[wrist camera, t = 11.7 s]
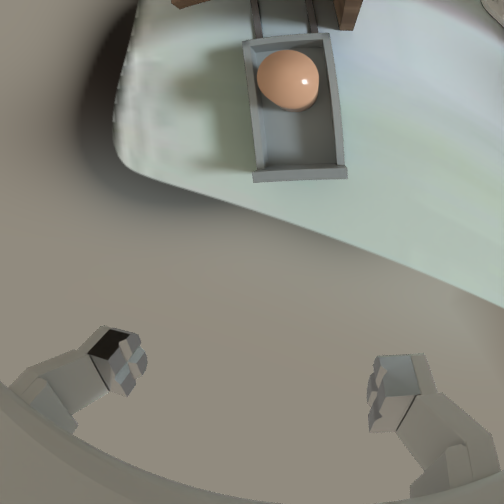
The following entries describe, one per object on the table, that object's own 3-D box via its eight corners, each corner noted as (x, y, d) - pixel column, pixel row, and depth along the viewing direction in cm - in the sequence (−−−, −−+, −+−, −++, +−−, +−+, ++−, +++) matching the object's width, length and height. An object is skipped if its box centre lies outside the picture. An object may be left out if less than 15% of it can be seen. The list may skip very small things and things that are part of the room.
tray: (249, 49, 20) (235, 34, 16) (328, 42, 18) (330, 25, 14) (264, 174, 25) (253, 182, 21) (342, 171, 23) (347, 179, 19)
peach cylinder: (268, 71, 20) (253, 53, 15) (315, 68, 19) (314, 48, 14) (273, 114, 22) (260, 107, 16) (320, 111, 21) (322, 103, 16)
